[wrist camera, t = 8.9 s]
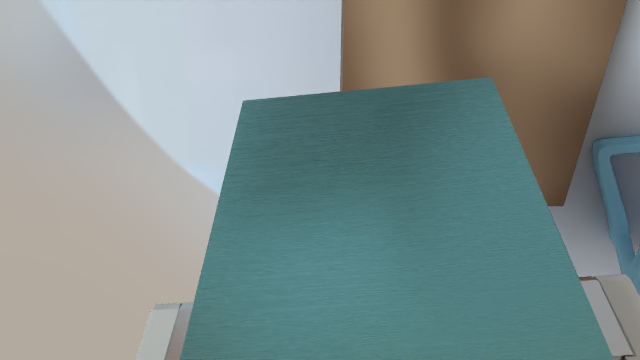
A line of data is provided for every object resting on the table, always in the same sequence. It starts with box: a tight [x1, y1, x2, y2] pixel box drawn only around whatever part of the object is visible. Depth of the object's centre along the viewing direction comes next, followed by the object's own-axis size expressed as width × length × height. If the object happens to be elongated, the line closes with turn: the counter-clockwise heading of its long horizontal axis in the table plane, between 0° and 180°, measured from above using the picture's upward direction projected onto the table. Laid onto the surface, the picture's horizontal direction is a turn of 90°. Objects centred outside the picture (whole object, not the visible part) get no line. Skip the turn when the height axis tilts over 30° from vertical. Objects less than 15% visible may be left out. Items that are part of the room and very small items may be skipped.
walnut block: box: [340, 0, 627, 206], centre depth 31 cm, size 12×12×5 cm
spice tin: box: [180, 77, 614, 360], centre depth 10 cm, size 5×5×8 cm
